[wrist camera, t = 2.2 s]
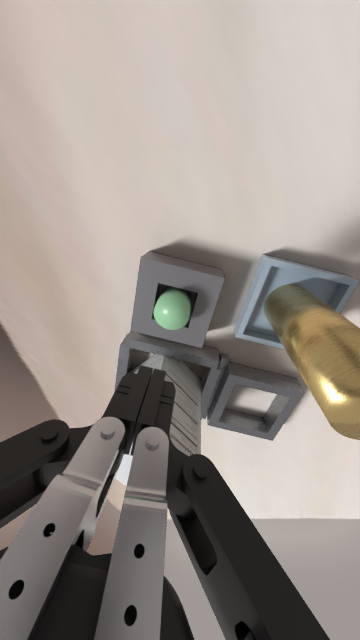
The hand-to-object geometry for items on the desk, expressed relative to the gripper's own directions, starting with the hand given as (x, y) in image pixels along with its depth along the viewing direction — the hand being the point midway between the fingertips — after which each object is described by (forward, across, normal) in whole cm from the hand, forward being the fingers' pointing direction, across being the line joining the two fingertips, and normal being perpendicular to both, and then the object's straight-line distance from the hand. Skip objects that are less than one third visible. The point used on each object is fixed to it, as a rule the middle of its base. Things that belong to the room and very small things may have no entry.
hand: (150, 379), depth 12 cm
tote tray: (+14, -12, -2) cm, 19 cm away
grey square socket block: (+14, 0, 0) cm, 14 cm away
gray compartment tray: (+14, -7, +12) cm, 20 cm away
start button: (+12, 0, 0) cm, 12 cm away
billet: (+14, -12, -2) cm, 18 cm away
